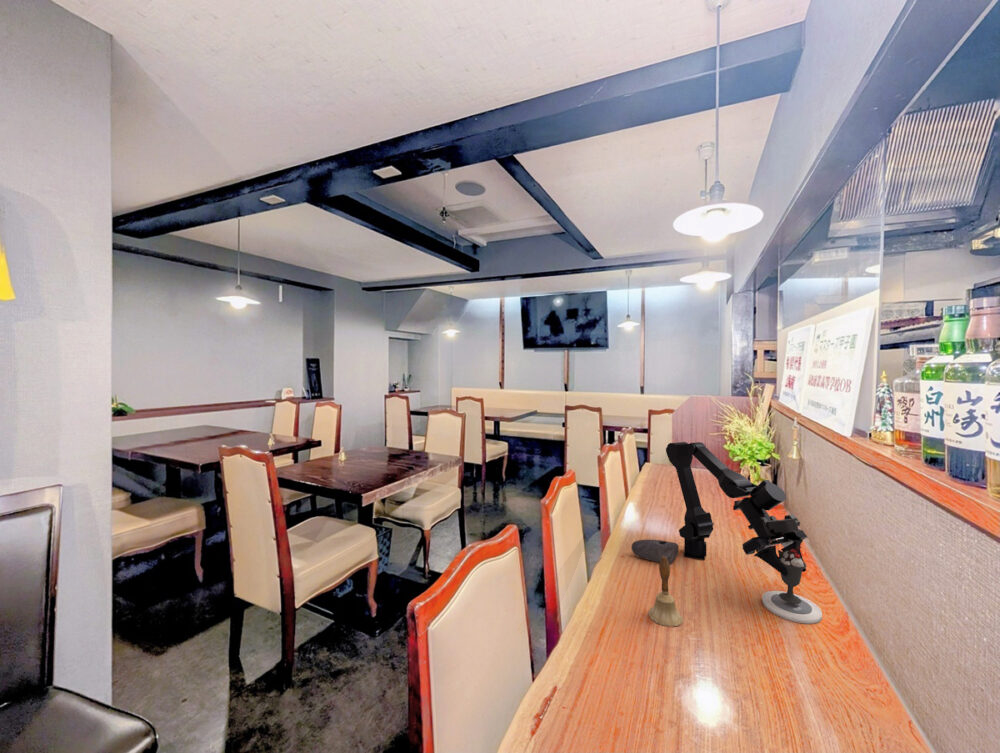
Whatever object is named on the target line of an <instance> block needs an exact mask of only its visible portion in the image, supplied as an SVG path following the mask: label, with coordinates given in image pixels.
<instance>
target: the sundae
mask: <svg viewBox="0 0 1000 753" xmlns="http://www.w3.org/2000/svg"><path fill="white" fill-rule="evenodd" d="M799 547H800V548H799V549H800V550H801V549H802V546H799ZM797 548H798V547H797ZM797 548H796V549H797ZM777 553H778V557H779V559H780V560H781V562H782V564H783V565H784V567H785V569H786V571H787V573H788V575H787V576H784V575H782V574H781V573H780V577H781V580H782V581H783V583H784V584H785V585H787V591H786V592H787V593H780V594H779V597H780V598H781V599H783V600H784V601H786V602H789V603H793V604H799V603H801V599H800V598H798V597H797V596H795V595H794V594H795V593H794V588H795V587H797V586H798V585H800V583H801V581H802V580H801V579H802V574H803V572H802V570H803V569H805V568H806V569H807V564H806V562H805V561H804V560H803V561H804V562H803V561H802V560H801V559H800V555H799V554H798V549H797V553H796V551H795V549H791V551H789V550H788V551H786V552H783V551H782V550H781V549H778V550H777Z"/></svg>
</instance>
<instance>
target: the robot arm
mask: <svg viewBox="0 0 1000 753" xmlns="http://www.w3.org/2000/svg"><path fill="white" fill-rule="evenodd" d="M665 453H666V456H667V458H668V461H669V462H670V464H672V466H673V467H674V468H675V470H676V471H675V472H676V474H677V479H678V481H679V486H680V489H681V494H682V496H683V501H684V505H685V508H686V510H685V514H684V519H683V520H684V525H683V526H682V527H681V528H679V529H678V533H679V537H681V538H683V540H684V543H683V544H684V548H683V556H684V557H685V558H686V557H687V558H692V559H697V560H702V561H705V560H706V557H707V542H706V541H705V539H709V538H710V536H711V534H712V532H713V531H714V525H715V524H714V522H713V519H712V514H711V513H710V512H708V511H707V512H706V511H705V509H704V508H703V507H702V503H701V500H700V496H699V493H698V492H699V491H698V488H697V485H696V480H695V477H694V475H693V470H692V462H693V456H694V458H695V459H696V460H698V461H699V462H700V463H701V465H702V466H703V467H705V468H706V469H707V470H708V471H709V472H710V473H711V474H712V475H713V477H714V478H715V479H716V480H717V482H718V485H719V487H720V489H721V490H722V491H723V493H724V494H725V495H726V496H727V497H728V498H729V499H738V498H742V499H741V500H740V499H738V500H734V502H733V508H732V510H733V511H738V510H740V511H741V513H742V514H743V516H744V517H745V519H746V520H747V522H748V523H749V525H747V528H748V529H749V530H753V531H754V532H755V535H757V536H755V537H751V538H749V539H748V540H747V541H745V542H744V543H742V550H743V551H744V554H745V555H746V556H748V555H749V556H750V555H753V556H754V557H757V558H758V559H760V560H761V561H763V562H765V563H766V564H768V565H769V566H771V567H772V568H773V569H774V570H776V571H777V572H778V573H780V575H781V574H782V575H784V576H787V575H788V573H787V571H786V569H785V567H784V565H783V564H782V562H781V560H780V559H779V554H777V545H781V546H782V547H783V548H781V549H780V551H782V552H786V551H788V550H789V551H791V549H795V551H796V553H797V549H798V554H799V555H800V559H801V560H802V561H803V562H805V561H804V559H803V558H804V557H803V555H802V551H801V548H800V547H802V546H801V544H802V543H803V542H804V540H806V539H807V538H808V535H807V534H806V533H805V531H804V530H803V529H799V527H800V525H801V521H800V520H799V519H798V518H797V517H796V516H795V514H786V515H784V518H783V519H782V518H781V519H777V517H776V516H774V515H770V514H768V512H767V511H771V510H773V509H774V508H775V507H777V506H779V505H781V503H783V502H785V501H786V499H787V496H786V493H785V491H784V490H783V489H782V488H781V487H780V486H778V485H777V484H775V483H772V482H771V481H770V479H763V480H762V481H761V482H760V483H759V484H758V485H757V484H755V483H753V482H751V481H750V480H749V479H748V478H747V477H745V476H744V475H742V474H741V473H739V472H736V471H734V470H732V469H731V468H729V467H728V466H727V465H726V464H725V463H724V462H723V461H721V460H720V459H719V458H718V457H717V456H716V455H715V454H714V453H713V452H712V451H710V450H709V448H707V447H706V445H705V443H703V442H700V441H695V442H690V443H688V442H686V441H678V442H669V443H668V444H667V446H666V448H665ZM799 546H800V547H799ZM797 547H798V548H797ZM796 548H797V549H796ZM799 548H800V549H799ZM755 552H756V553H755ZM806 571H807V567H806V568H805V569H803V570H802V573H804V572H806Z"/></svg>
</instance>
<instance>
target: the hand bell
mask: <svg viewBox="0 0 1000 753" xmlns="http://www.w3.org/2000/svg"><path fill="white" fill-rule="evenodd" d="M658 568H659V576H660V578H661V592H659V593H657V594H656V596H655V602H654V605H653V606H652V607H651V608H650V609H649V610H648V617H649V616H650V617H649V618H650V619H651V620H652V621H653V622H654V623H656V624H657V623H658V624H657V625H660V626H662V625H664V626H663V627H666V626H676V627H678V626H679V627H680V626H681V624H683V621H684V620H683V617H682V615H681V613H680V612H679V611H678V610H677V607H676V600H675V598H674V596H673V595H672V594H670V591H669V590H670V589H669V578H670V576H671V566H670V563H669V562H668V560H667V557H666V556H662V558H661V561H660V562H659V567H658Z"/></svg>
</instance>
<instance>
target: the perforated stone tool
mask: <svg viewBox="0 0 1000 753" xmlns="http://www.w3.org/2000/svg"><path fill="white" fill-rule="evenodd" d="M679 547H680V546H679V545H678V544H677V543H676V542H672V541H667V540H663V539H662V540H660V539H638V540H635V541H634V542H632V544H631V552H632V553H633V554H634V555H636V556H637V557H639V558H641V559H644V560H645V559H646V560H648V561H653V562H656V563H660V561H661V558H662V556H666V557H667V560H668V562H669V564H672V563H673V562H675V560H676V559H677V558H678V555H679V551H680V550H679Z"/></svg>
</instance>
